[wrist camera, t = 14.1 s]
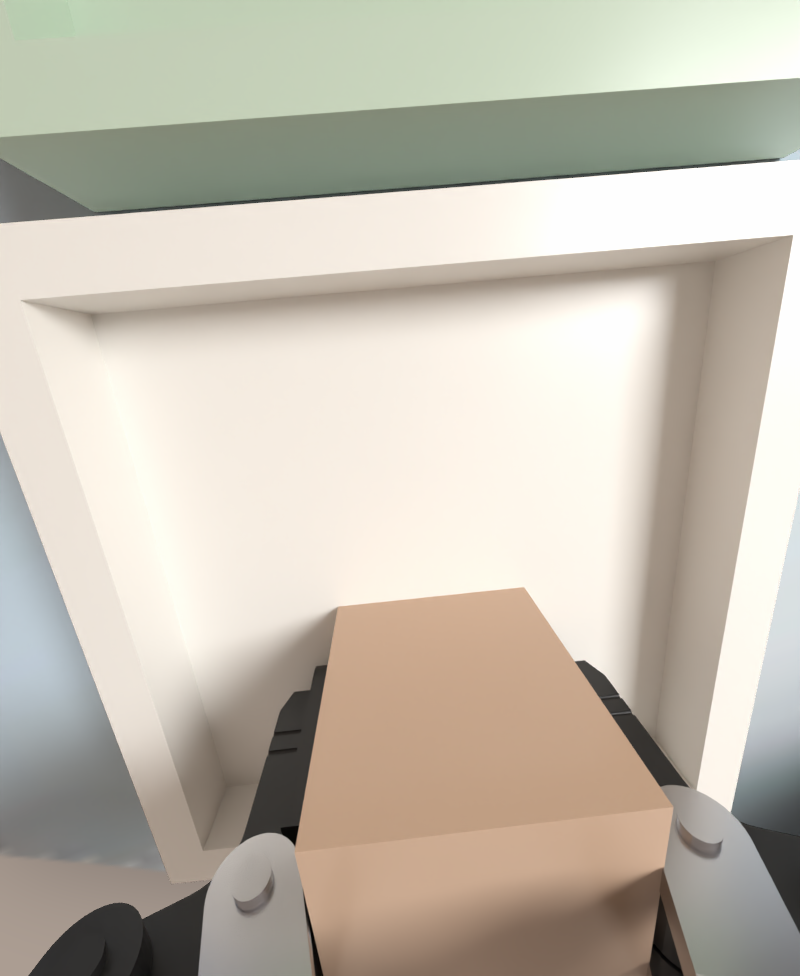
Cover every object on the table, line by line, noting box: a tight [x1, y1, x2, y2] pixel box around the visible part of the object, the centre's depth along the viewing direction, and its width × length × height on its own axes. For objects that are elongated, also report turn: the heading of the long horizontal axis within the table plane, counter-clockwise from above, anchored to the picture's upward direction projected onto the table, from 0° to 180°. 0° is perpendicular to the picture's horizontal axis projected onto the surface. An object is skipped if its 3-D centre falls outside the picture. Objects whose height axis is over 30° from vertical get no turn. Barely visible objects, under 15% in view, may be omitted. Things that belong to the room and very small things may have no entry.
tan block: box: [294, 587, 674, 976], centre depth 8 cm, size 4×4×5 cm
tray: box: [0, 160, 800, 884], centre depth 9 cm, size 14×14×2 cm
